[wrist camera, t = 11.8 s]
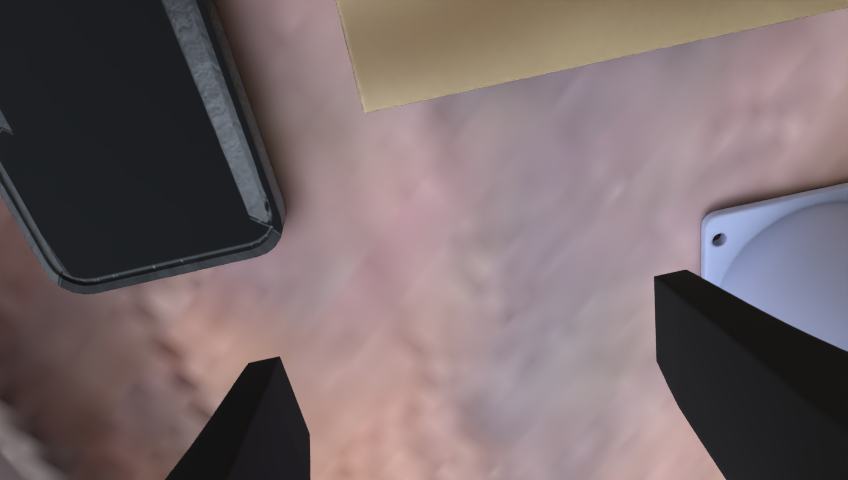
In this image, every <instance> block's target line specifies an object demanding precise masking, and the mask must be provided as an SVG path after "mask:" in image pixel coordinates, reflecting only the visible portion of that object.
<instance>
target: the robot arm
mask: <svg viewBox="0 0 848 480" xmlns="http://www.w3.org/2000/svg"><path fill="white" fill-rule="evenodd" d="M719 233H722V234H721V237H720V238H719V239H718V240H715V241H712V240H713V238H714V236H715V235H717V234H719ZM654 290H655V324H656V359H657V363H658V365H659V367H660V369H661V371H662V374H663V376H664V378H665V380H666V382H667V384H668V386H669V388H670V390H671V392H672V394H673V396H674V398H675V400H676V402H677V405H678V406H679V408H680V410H681V411H682V413H683V414H684V416H685V418H686V419H687V421H688V422H689V424H690V425H691V427H692V428H693V430H694V431H695V433H696V434H697V436H698V438H699V439H700V441H701V442H702V444H703V445H704V447H705V448H706V450H707V451H708V453H709V454H710V456H711V457H712V459H713V460H714V462H715V463H716V465H717V466H718V468H719V470H720V471H721V473H722V474H723V476H724V477H725V479H726V480H848V183H843V184H839V185H834V186H829V187H825V188H820V189H815V190H811V191H806V192H801V193H796V194H792V195H787V196H782V197H778V198H773V199H768V200H764V201H759V202H754V203H750V204H745V205H740V206H736V207H731V208H726V209H722V210H717V211H714V212H711V213H709V214H708V215H707V216H706V217H705V218H704V220H703V221H702V225H701V277H700V276H698V275H696V274H694V273H692V272H690V271H688V270H682V271H677V272H673V273H668V274H663V275H659V276H654ZM165 480H310V434H309V431H308V429H307V426H306V423H305V421H304V418H303V416H302V413H301V410H300V408H299V405H298V403H297V400H296V397H295V395H294V392H293V390H292V387H291V384H290V382H289V379H288V377H287V374H286V371H285V369H284V366H283V364H282V361H281V358H280V356H279V357H275V358H270V359H265V360H260V361H256V362H251V363H248V365H247V366H246V367H245V369H244V370H243V372H242V373H241V374H240V376H239V377H238V379H237V380H236V382H235V383H234V385H233V386H232V388H231V389H230V391H229V392H228V394H227V395H226V397H225V398H224V399H223V401H222V402H221V404H220V405H219V407H218V408H217V410H216V411H215V413H214V414H213V416H212V417H211V419H210V420H209V421H208V423H207V424H206V426H205V427H204V428H203V430H202V431H201V433H200V434H199V436H198V437H197V438H196V440H195V441H194V443H193V444H192V445H191V447H190V448H189V449H188V451H187V452H186V453H185V454H184V456H183V457H182V458H181V460H180V461H179V462H178V464H177V465H176V466H175V467H174V469H173V470H172V471H171V473H170V474H169V475H168V476H167V478H166V479H165Z"/></svg>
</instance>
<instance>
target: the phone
mask: <svg viewBox="0 0 848 480" xmlns="http://www.w3.org/2000/svg"><path fill="white" fill-rule="evenodd" d="M0 194H1V196H2V198H3V199H4V201H5V203H6V205H7V206H8V208H9V210H10V211H11V213H12V215H13V217H14V218H15V220H16V222H17V224H18V225H19V227H20V229H21V231H22V232H23V234H24V236H25V238H26V239H27V241H28V243H29V244H30V246H31V248H32V250H33V251H34V253H35V255H36V257H37V258H38V260H39V262H40V264H41V265H42V267H43V269H44V271H45V272H46V273H47V275H48V276H49V277H50V278H51V280H52V281H54V282H55V283H56V284H58V285H59V286H60V287H62V288H64V289H66V290H69V291H71V292H74V293H80V294H95V293H100V292H104V291H109V290H113V289H118V288H122V287H126V286H131V285H135V284H140V283H144V282H149V281H153V280H157V279H162V278H166V277H171V276H175V275H179V274H184V273H188V272H193V271H197V270H201V269H206V268H210V267H215V266H219V265H224V264H228V263H232V262H237V261H241V260H246V259H250V258H254V257H258V256H261V255H263V254H266V253H268V252H269V251H270V250H272V249H273V248H274V247H275V246H276V245H277V243H278V241H279V240H280V238H281V234H282V230H283V226H284V221H285V216H286V210H285V204H284V201H283V198H282V195H281V192H280V189H279V186H278V184H277V181H276V178H275V175H274V172H273V169H272V166H271V163H270V161H269V158H268V155H267V152H266V149H265V146H264V143H263V140H262V138H261V135H260V132H259V129H258V126H257V123H256V120H255V117H254V115H253V112H252V109H251V106H250V103H249V100H248V97H247V94H246V92H245V89H244V86H243V83H242V80H241V77H240V74H239V71H238V69H237V66H236V63H235V60H234V57H233V54H232V51H231V48H230V46H229V43H228V40H227V37H226V34H225V31H224V28H223V25H222V23H221V20H220V17H219V14H218V11H217V8H216V5H215V2H214V0H0Z"/></svg>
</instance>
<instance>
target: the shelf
mask: <svg viewBox="0 0 848 480" xmlns="http://www.w3.org/2000/svg"><path fill="white" fill-rule="evenodd" d="M335 1H336V5H337V9H338V13H339V17H340V21H341V25H342V29H343V33H344V37H345V41H346V45H347V49H348V53H349V57H350V61H351V65H352V69H353V73H354V77H355V81H356V85H357V89H358V93H359V97H360V101H361V105H362V109H363V111H364V113H369V112H374V111H379V110H383V109H388V108H392V107H397V106H401V105H406V104H410V103H415V102H420V101H424V100H429V99H433V98H438V97H442V96H447V95H452V94H456V93H461V92H465V91H470V90H474V89H479V88H484V87H488V86H493V85H497V84H502V83H506V82H511V81H516V80H520V79H525V78H529V77H534V76H538V75H543V74H548V73H552V72H557V71H561V70H566V69H570V68H575V67H579V66H584V65H589V64H593V63H598V62H602V61H607V60H611V59H616V58H621V57H625V56H630V55H634V54H639V53H643V52H648V51H653V50H657V49H662V48H666V47H671V46H675V45H680V44H685V43H689V42H694V41H698V40H703V39H707V38H712V37H716V36H721V35H726V34H730V33H735V32H739V31H744V30H748V29H753V28H758V27H762V26H767V25H771V24H776V23H780V22H785V21H790V20H794V19H799V18H803V17H808V16H812V15H817V14H822V13H826V12H831V11H835V10H840V9H844V8H848V0H335Z"/></svg>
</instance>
